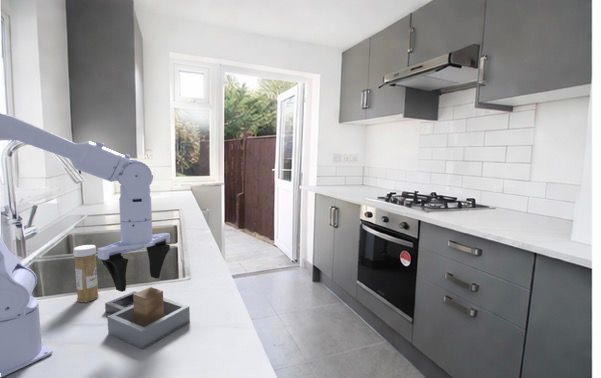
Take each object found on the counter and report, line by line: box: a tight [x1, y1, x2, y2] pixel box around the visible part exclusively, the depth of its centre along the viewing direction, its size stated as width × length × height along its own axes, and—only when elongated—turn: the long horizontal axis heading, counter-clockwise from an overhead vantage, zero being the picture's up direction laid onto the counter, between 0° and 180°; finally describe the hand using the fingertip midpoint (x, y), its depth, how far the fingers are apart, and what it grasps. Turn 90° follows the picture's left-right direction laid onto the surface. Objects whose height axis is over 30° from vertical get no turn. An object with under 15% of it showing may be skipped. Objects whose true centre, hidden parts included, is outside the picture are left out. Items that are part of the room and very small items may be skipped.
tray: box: [107, 297, 191, 350], centre depth 64 cm, size 11×11×4 cm
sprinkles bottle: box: [72, 244, 100, 303], centre depth 76 cm, size 5×5×13 cm
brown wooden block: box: [132, 286, 164, 327], centre depth 64 cm, size 4×4×7 cm
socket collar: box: [104, 291, 138, 315], centre depth 72 cm, size 7×7×2 cm
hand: (138, 283), depth 64 cm, fingers open, 7 cm apart
